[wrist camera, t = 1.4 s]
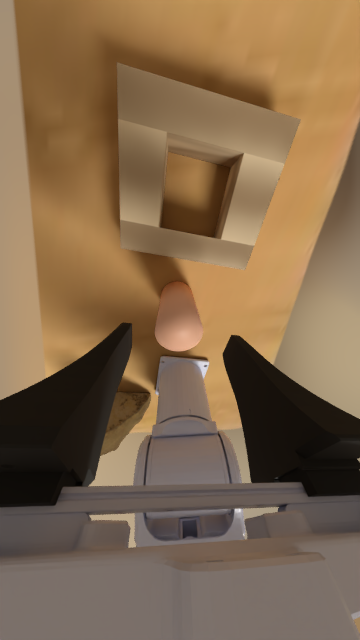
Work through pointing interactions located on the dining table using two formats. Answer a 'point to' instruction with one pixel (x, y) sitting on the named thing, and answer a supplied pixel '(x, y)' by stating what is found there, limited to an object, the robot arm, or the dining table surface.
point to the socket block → (200, 143)
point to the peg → (178, 318)
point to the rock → (124, 418)
